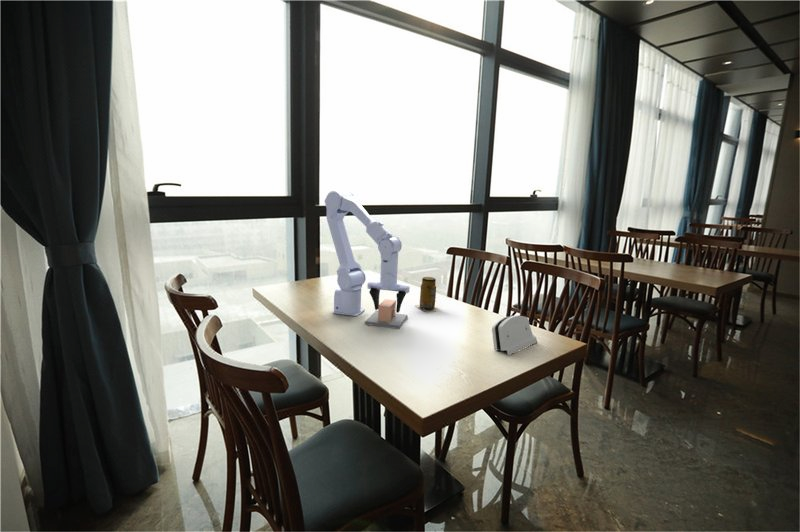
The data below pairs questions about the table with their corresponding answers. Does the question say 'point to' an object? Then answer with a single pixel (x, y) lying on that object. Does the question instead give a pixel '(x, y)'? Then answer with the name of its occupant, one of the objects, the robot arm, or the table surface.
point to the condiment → (428, 295)
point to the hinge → (512, 334)
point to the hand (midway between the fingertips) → (387, 310)
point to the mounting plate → (394, 323)
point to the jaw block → (386, 310)
